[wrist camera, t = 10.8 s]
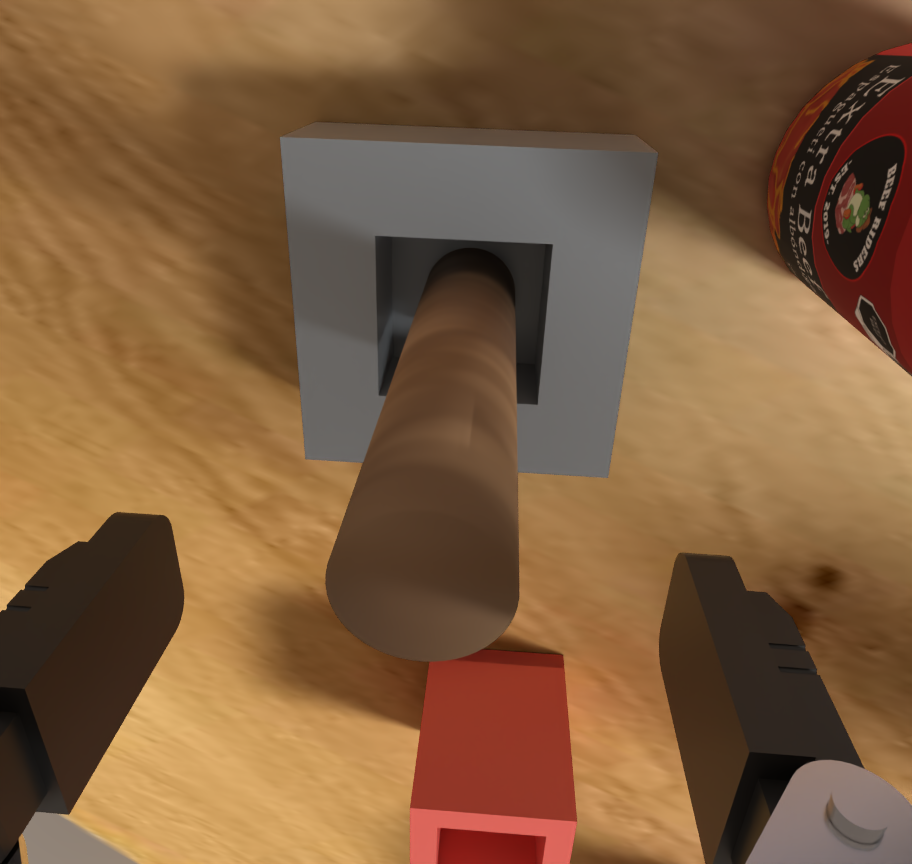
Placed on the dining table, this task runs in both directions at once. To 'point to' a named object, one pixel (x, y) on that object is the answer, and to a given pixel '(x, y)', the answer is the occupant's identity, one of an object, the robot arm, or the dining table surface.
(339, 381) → the holder
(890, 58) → the canned food
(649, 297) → the dining table surface
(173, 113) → the dining table surface
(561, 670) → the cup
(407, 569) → the dowel
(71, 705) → the robot arm
